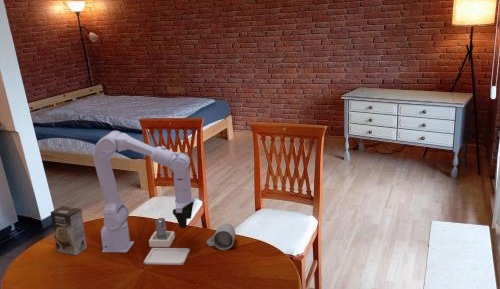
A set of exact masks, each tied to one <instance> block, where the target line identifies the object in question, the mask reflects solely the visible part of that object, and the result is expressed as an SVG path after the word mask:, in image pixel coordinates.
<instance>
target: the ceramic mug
mask: <svg viewBox="0 0 500 289" xmlns="http://www.w3.org/2000/svg"><path fill="white" fill-rule="evenodd" d="M235 237H236V230H235V228H234V226H233V225H231V224H229V223H222V224H220V225H219V226H218V227H217V229H216V230H215V233H214V234H213V236H212V237H209V238H208V239H207V240H206V245H208V247H213V246H215V247H216V248H217V249H218V250H220V251H221V250H223V251H226V250H230V249H231V248H232V247H233V245H234V242H235V239H236V238H235Z"/></svg>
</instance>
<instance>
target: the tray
mask: <svg viewBox="0 0 500 289" xmlns="http://www.w3.org/2000/svg"><path fill="white" fill-rule="evenodd" d="M190 252H191V248H190V247H189V248H186V247H185V248H183V247H180V248H179V247H172V248H171V247H151V249H150V251H149V252H148V254H147V255H146V257H145V259H144V260H143V262H142V263H143V264H142V265H166V266H167V265H169V266H171V265H173V266H174V265H175V266H177V265H178V266H184V263H185V262H186V259H187V257H188V255H189V253H190Z"/></svg>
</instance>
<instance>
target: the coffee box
mask: <svg viewBox="0 0 500 289" xmlns="http://www.w3.org/2000/svg"><path fill="white" fill-rule="evenodd" d="M50 217H51V223H52V227H53V235H54V242H55V245H56V251H57V252H58V253H62V254H68V255H72V256H77V255H78V254H80V253H81V252H83V251H84V250H86V249H87V248H88V246H87V239H86V233H85V226H84V219H83V211H82V208H76V207H70V206H64V205H62V206H60V207H58V208H55V209H53V210H51V211H50Z"/></svg>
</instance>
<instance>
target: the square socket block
mask: <svg viewBox="0 0 500 289" xmlns="http://www.w3.org/2000/svg"><path fill="white" fill-rule="evenodd" d="M166 234H167V240H157V232H156V230H154V232H153V233H152V235H151V236H150V239H148V245H149V247H150V248H171V245H172V243H173V242H174V240H175V238H176V235H175V234H176V233H175V231H172V230H171V231H168V230H166Z"/></svg>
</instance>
